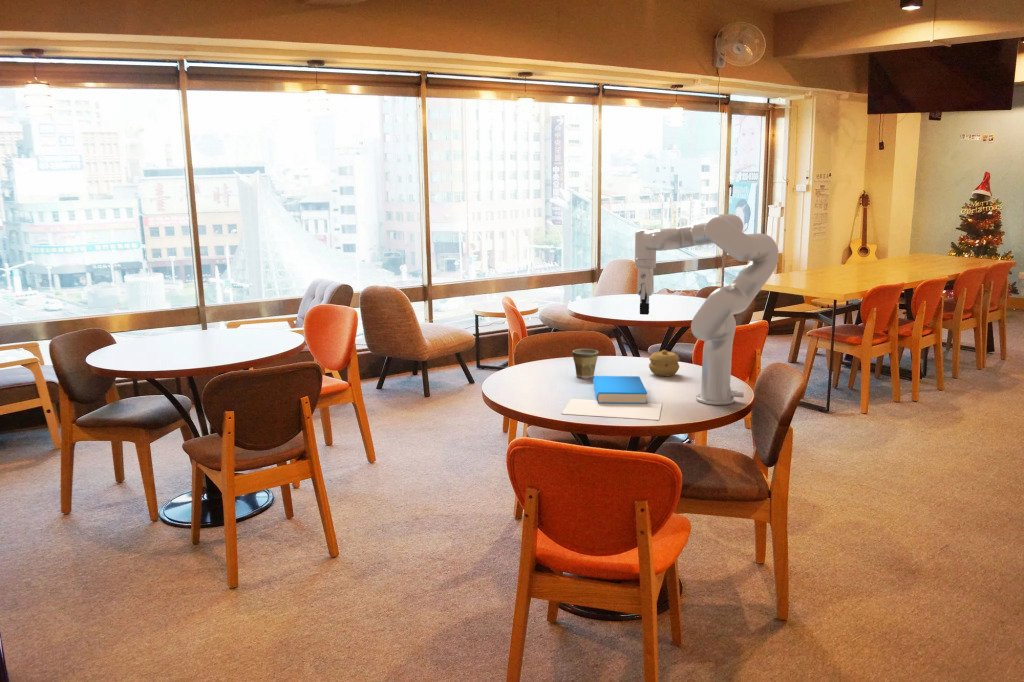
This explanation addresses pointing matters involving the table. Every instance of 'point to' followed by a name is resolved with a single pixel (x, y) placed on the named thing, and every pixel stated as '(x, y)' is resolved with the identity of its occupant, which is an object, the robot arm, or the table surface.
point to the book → (619, 390)
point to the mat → (613, 409)
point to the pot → (664, 363)
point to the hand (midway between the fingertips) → (644, 314)
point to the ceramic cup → (585, 362)
